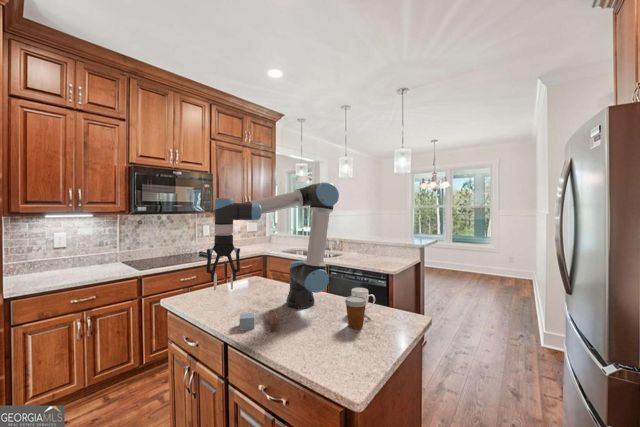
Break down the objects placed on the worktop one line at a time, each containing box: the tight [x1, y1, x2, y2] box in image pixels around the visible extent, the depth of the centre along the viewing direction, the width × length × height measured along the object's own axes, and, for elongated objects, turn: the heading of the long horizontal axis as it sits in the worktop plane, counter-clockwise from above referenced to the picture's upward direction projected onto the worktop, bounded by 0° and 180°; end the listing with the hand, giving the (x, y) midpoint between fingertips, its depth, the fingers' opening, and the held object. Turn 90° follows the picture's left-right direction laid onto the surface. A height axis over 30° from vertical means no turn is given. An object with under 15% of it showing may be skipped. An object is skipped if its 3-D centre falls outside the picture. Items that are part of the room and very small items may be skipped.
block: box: [238, 312, 255, 331], centre depth 124 cm, size 6×6×5 cm
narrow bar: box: [268, 309, 279, 333], centre depth 126 cm, size 3×16×4 cm, turn 13°
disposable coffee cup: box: [344, 295, 368, 330], centre depth 125 cm, size 10×10×12 cm
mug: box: [350, 287, 376, 311], centre depth 141 cm, size 12×8×11 cm
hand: (223, 288), depth 122 cm, fingers open, 6 cm apart
